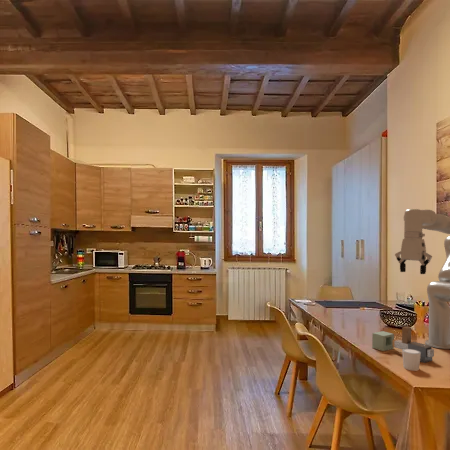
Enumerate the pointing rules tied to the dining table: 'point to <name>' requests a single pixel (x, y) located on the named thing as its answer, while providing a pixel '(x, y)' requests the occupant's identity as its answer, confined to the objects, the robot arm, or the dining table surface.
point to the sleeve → (420, 348)
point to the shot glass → (411, 359)
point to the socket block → (382, 341)
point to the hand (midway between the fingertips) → (412, 272)
